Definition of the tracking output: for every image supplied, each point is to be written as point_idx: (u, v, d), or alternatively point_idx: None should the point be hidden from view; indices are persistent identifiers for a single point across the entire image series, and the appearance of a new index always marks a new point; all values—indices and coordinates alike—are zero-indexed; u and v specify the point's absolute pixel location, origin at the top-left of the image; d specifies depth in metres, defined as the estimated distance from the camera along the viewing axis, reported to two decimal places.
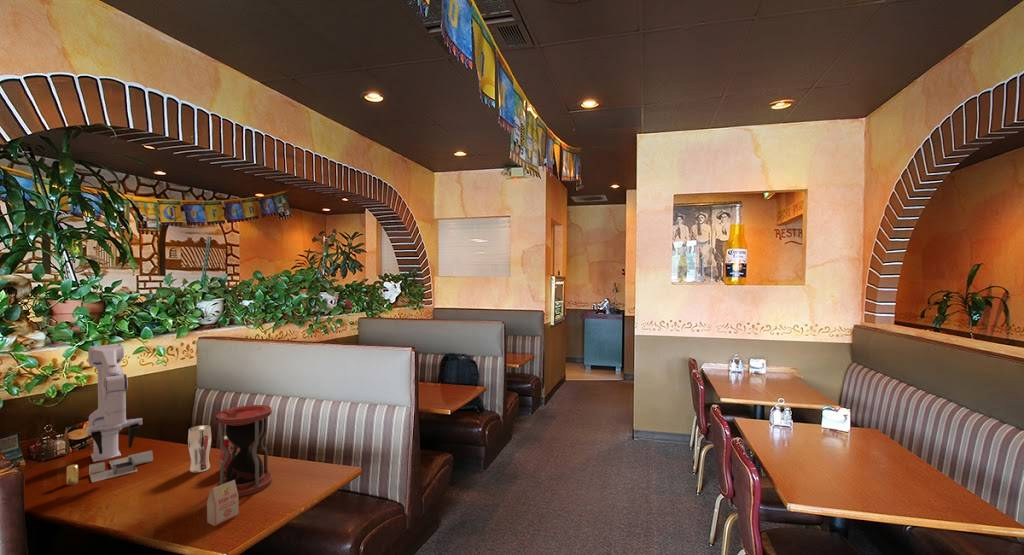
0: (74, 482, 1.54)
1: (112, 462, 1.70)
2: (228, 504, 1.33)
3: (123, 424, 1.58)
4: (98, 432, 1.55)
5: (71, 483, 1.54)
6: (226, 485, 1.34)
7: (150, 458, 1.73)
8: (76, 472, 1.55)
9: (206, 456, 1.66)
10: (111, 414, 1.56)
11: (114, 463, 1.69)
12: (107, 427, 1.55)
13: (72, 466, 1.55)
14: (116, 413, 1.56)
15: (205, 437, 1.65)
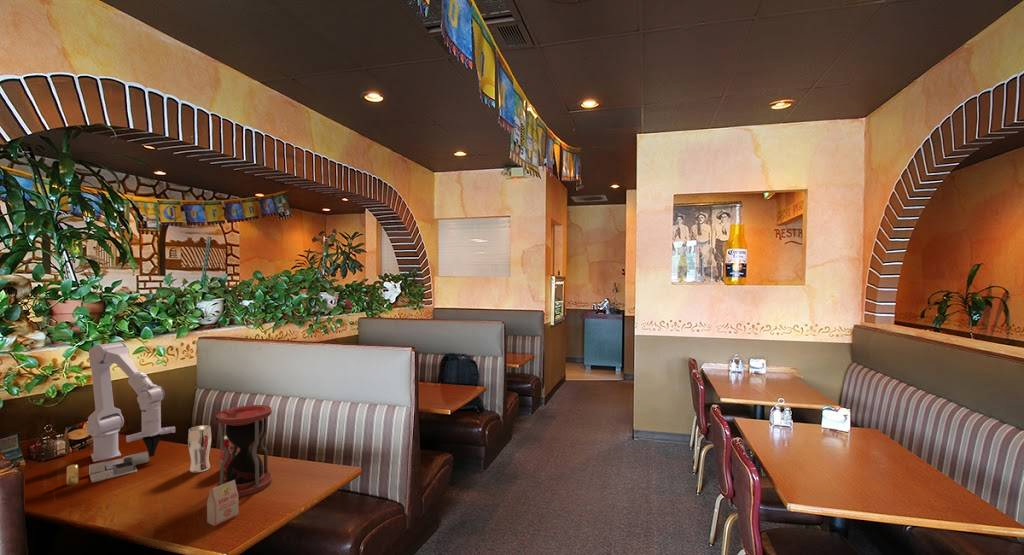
0: (74, 482, 1.54)
1: (107, 463, 1.69)
2: (228, 504, 1.33)
3: (159, 432, 1.73)
4: None
5: (71, 483, 1.54)
6: (226, 485, 1.34)
7: (146, 459, 1.72)
8: (76, 472, 1.55)
9: (206, 456, 1.66)
10: (148, 423, 1.71)
11: (109, 464, 1.68)
12: (145, 435, 1.70)
13: (72, 466, 1.55)
14: (152, 422, 1.72)
15: (205, 437, 1.65)
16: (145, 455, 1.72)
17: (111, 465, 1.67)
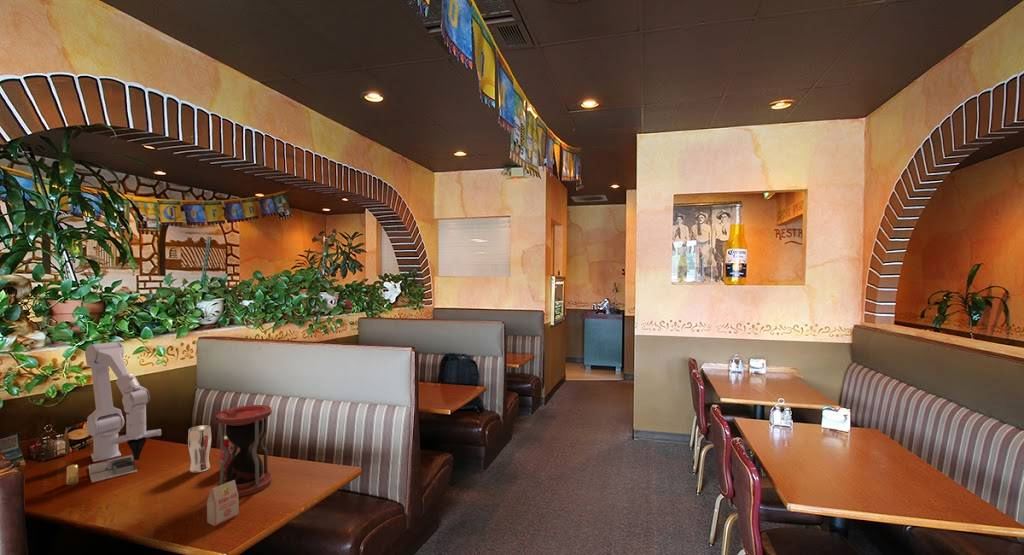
0: (74, 482, 1.54)
1: None
2: (228, 504, 1.33)
3: (144, 435, 1.70)
4: None
5: (71, 483, 1.54)
6: (226, 485, 1.34)
7: None
8: (76, 472, 1.55)
9: (206, 456, 1.66)
10: (133, 426, 1.68)
11: None
12: (129, 438, 1.67)
13: (72, 466, 1.55)
14: (137, 425, 1.68)
15: (205, 437, 1.65)
16: (130, 459, 1.68)
17: None
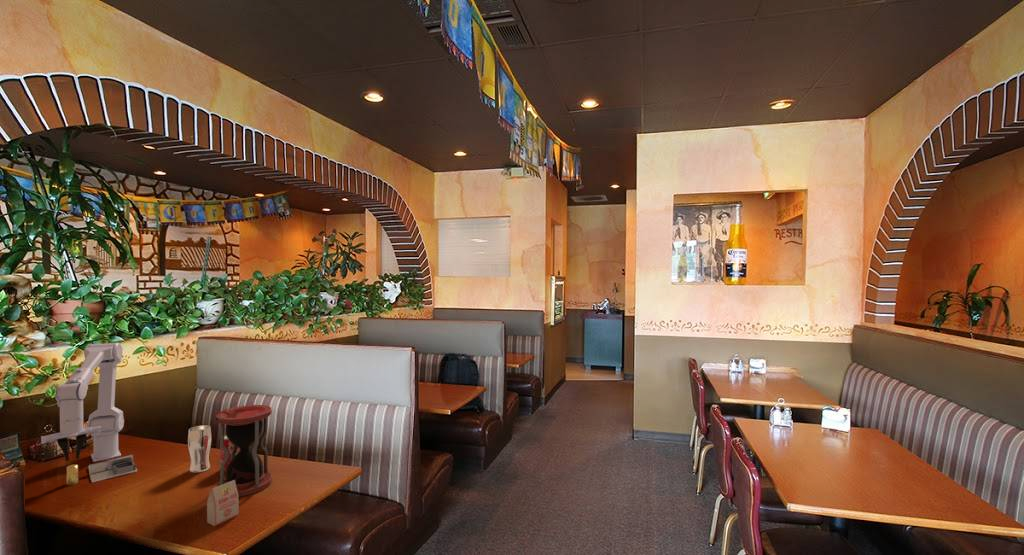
0: (74, 482, 1.54)
1: None
2: (228, 504, 1.33)
3: (80, 433, 1.54)
4: None
5: (71, 483, 1.54)
6: (226, 485, 1.34)
7: None
8: (76, 472, 1.55)
9: (206, 456, 1.66)
10: (67, 423, 1.52)
11: None
12: (63, 436, 1.52)
13: (72, 466, 1.55)
14: (72, 421, 1.53)
15: (205, 437, 1.65)
16: (130, 459, 1.68)
17: None
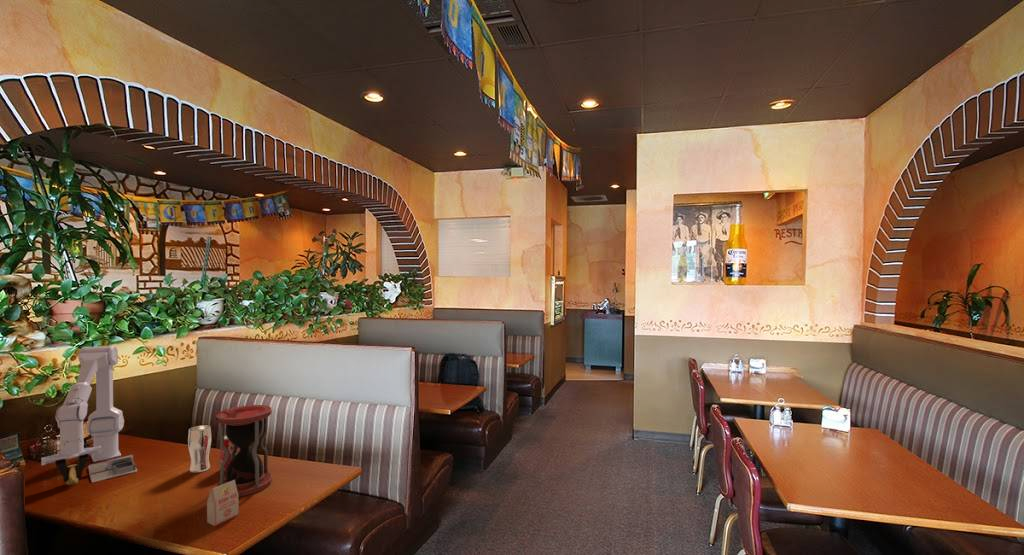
0: (74, 482, 1.54)
1: None
2: (228, 504, 1.33)
3: (80, 453, 1.55)
4: None
5: (71, 483, 1.54)
6: (226, 485, 1.34)
7: None
8: (76, 472, 1.55)
9: (206, 456, 1.66)
10: (67, 444, 1.52)
11: None
12: (63, 457, 1.52)
13: (72, 466, 1.55)
14: (72, 442, 1.53)
15: (205, 437, 1.65)
16: (130, 459, 1.68)
17: None
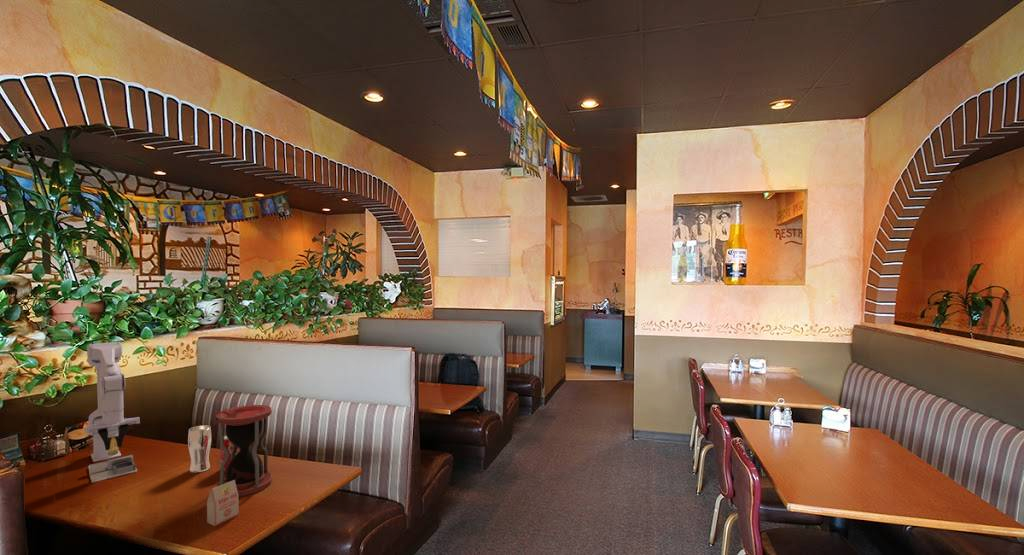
0: (115, 452, 1.61)
1: None
2: (228, 504, 1.33)
3: (121, 423, 1.61)
4: (96, 431, 1.58)
5: (112, 453, 1.61)
6: (226, 485, 1.34)
7: None
8: (117, 443, 1.62)
9: (206, 456, 1.66)
10: (109, 413, 1.59)
11: None
12: (105, 426, 1.58)
13: (113, 437, 1.61)
14: (114, 412, 1.60)
15: (205, 437, 1.65)
16: (130, 459, 1.68)
17: None
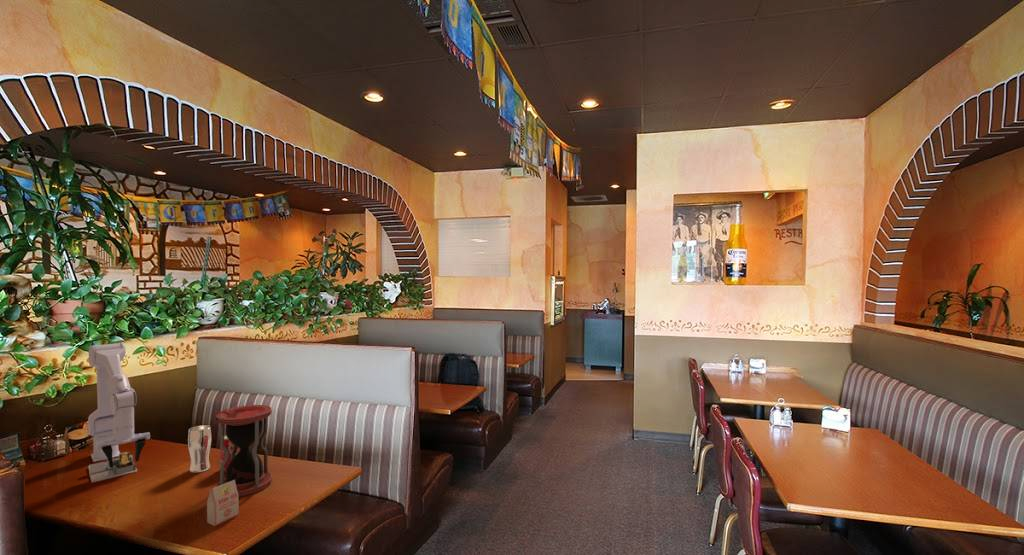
0: None
1: None
2: (228, 504, 1.33)
3: (131, 439, 1.63)
4: (107, 447, 1.60)
5: None
6: (226, 485, 1.34)
7: None
8: (128, 459, 1.64)
9: (206, 456, 1.66)
10: (120, 430, 1.61)
11: None
12: (116, 442, 1.60)
13: (124, 453, 1.63)
14: (125, 428, 1.62)
15: (205, 437, 1.65)
16: (130, 459, 1.68)
17: None
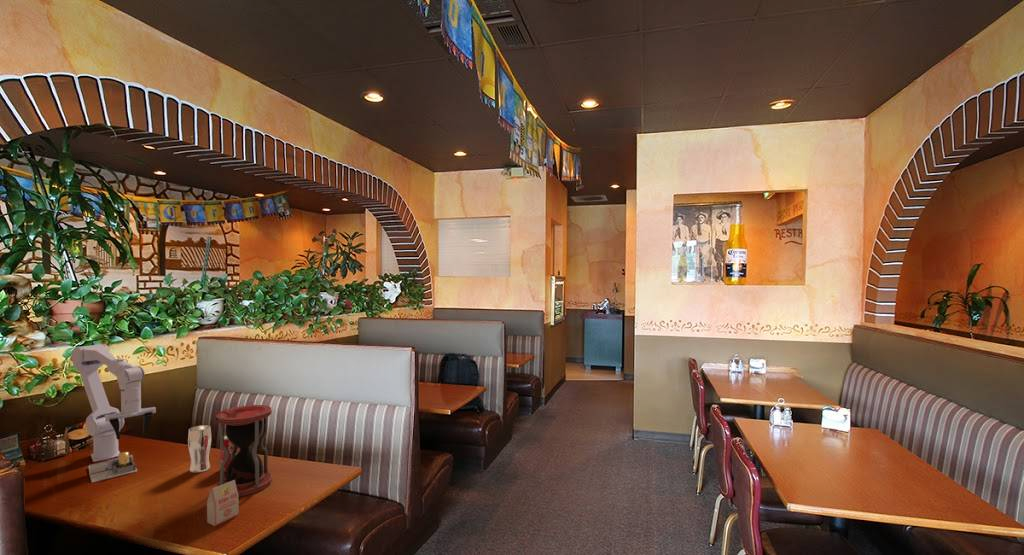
0: None
1: None
2: (228, 504, 1.33)
3: (138, 412, 1.72)
4: (116, 419, 1.68)
5: None
6: (226, 485, 1.34)
7: None
8: (127, 459, 1.64)
9: (206, 456, 1.66)
10: (128, 403, 1.70)
11: None
12: (124, 415, 1.69)
13: (123, 453, 1.63)
14: (132, 402, 1.70)
15: (205, 437, 1.65)
16: (130, 459, 1.68)
17: None
